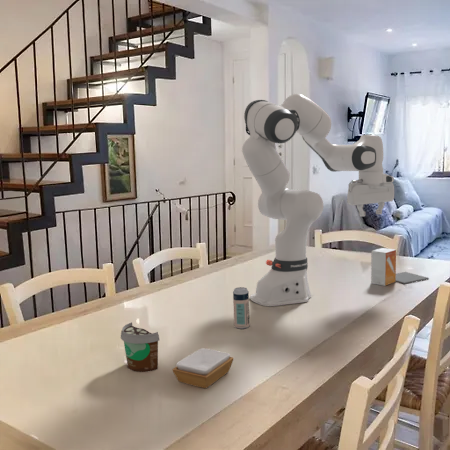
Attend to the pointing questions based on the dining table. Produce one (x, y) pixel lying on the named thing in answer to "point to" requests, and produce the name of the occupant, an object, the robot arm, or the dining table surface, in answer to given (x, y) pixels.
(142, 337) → the food container
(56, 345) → the dining table surface
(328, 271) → the dining table surface
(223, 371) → the soap dish
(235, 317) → the supplement bottle
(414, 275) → the mat
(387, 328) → the dining table surface
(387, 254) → the small box
